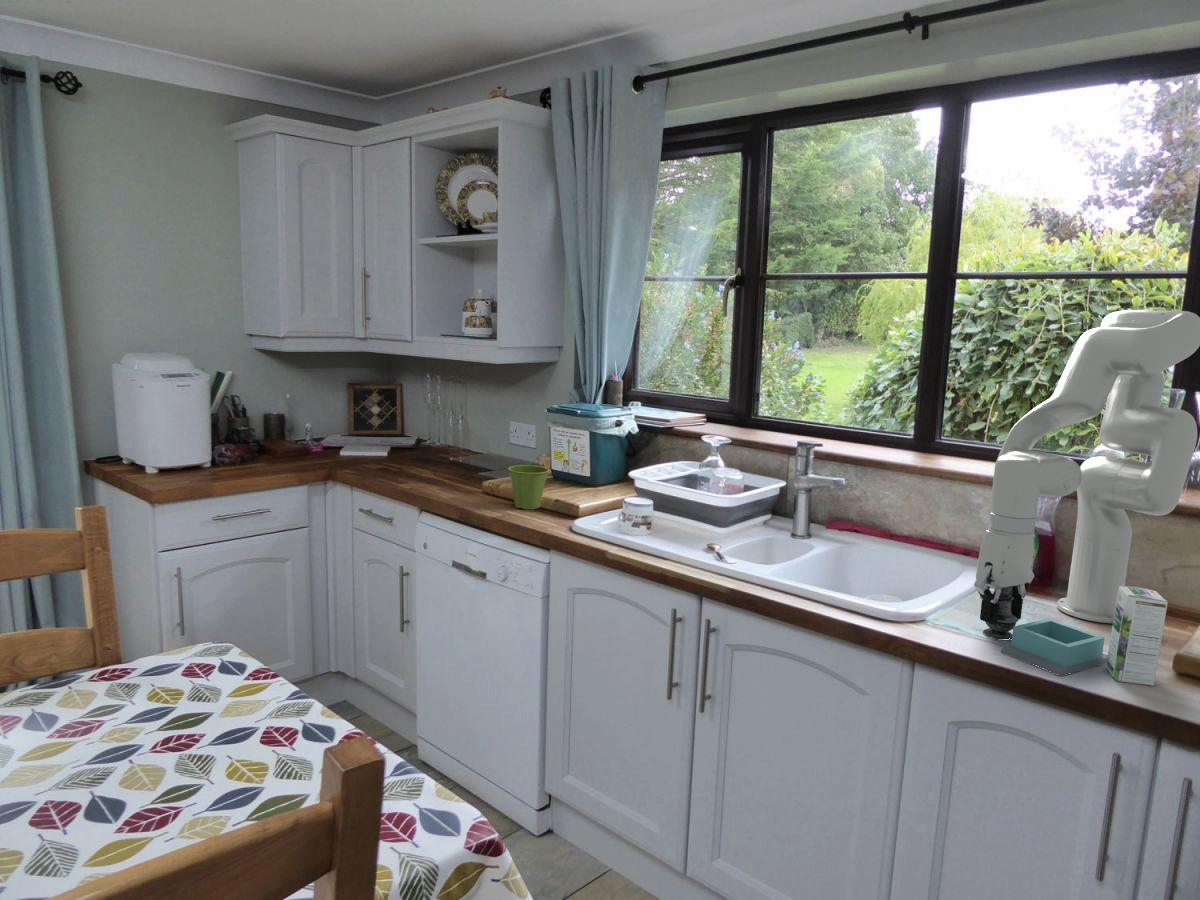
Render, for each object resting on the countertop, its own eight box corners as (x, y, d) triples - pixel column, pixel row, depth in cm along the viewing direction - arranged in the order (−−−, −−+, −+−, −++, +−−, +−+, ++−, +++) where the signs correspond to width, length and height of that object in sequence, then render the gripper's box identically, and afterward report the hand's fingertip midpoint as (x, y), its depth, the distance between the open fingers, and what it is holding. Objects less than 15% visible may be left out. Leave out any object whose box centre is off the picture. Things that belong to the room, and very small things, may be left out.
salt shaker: (1005, 629, 157) (1013, 567, 155) (1022, 641, 151) (1030, 577, 149) (975, 628, 157) (982, 566, 155) (990, 640, 151) (998, 576, 149)
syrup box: (1104, 667, 141) (1116, 584, 138) (1144, 673, 139) (1157, 589, 137) (1114, 681, 135) (1126, 595, 133) (1156, 687, 134) (1169, 600, 131)
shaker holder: (1050, 639, 152) (1053, 615, 152) (1111, 662, 143) (1114, 637, 142) (1000, 651, 146) (1003, 627, 145) (1060, 676, 136) (1064, 650, 136)
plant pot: (523, 513, 233) (524, 474, 231) (499, 505, 242) (500, 467, 240) (556, 508, 240) (558, 470, 239) (532, 500, 249) (533, 463, 247)
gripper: (1022, 515, 158) (1011, 606, 161) (961, 523, 150) (951, 619, 153) (1060, 524, 151) (1048, 619, 154) (999, 533, 143) (987, 633, 146)
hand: (1000, 618), depth 153 cm, fingers closed on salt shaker, 5 cm apart
